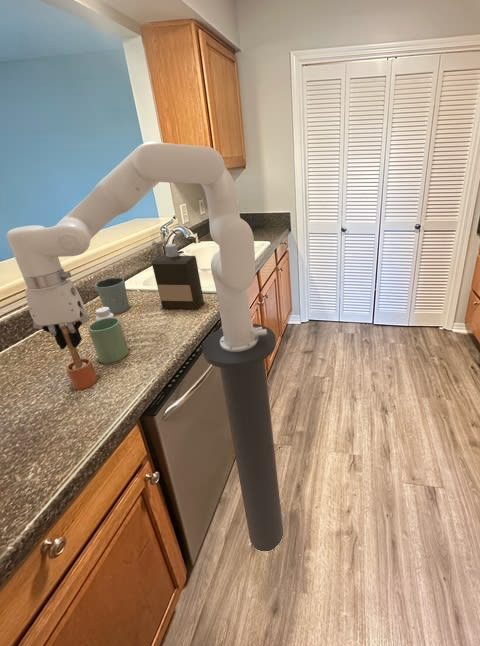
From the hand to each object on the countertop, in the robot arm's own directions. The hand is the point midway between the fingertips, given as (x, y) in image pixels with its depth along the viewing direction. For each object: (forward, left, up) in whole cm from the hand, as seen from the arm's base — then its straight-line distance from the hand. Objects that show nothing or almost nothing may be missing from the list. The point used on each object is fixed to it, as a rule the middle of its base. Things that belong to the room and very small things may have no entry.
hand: (71, 344), depth 83 cm
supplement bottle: (+1, -26, -12) cm, 29 cm away
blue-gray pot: (+4, -47, -12) cm, 49 cm away
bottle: (-22, -42, -12) cm, 49 cm away
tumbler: (-4, -12, -12) cm, 17 cm away
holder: (0, 0, -12) cm, 12 cm away
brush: (0, 0, -12) cm, 12 cm away
